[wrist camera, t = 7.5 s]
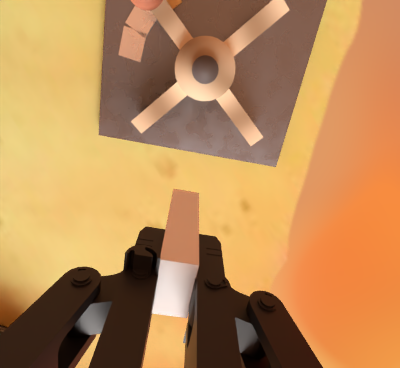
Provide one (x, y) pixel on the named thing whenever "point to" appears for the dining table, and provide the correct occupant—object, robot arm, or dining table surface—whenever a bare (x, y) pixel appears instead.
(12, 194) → the dining table surface
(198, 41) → the capstan
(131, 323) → the robot arm
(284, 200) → the dining table surface
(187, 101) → the stand
